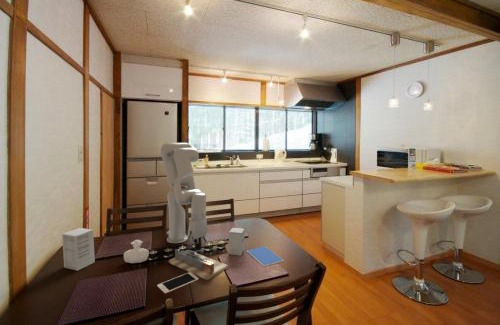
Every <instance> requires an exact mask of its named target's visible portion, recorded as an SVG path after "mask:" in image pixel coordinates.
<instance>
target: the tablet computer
mask: <svg viewBox="0 0 500 325" xmlns="http://www.w3.org/2000/svg"><path fill="white" fill-rule="evenodd" d="M246 253H247V254H248V255H249V256H251V257H252V258H253V259H255V261H257V263H259V264H260V265H261V266H262V267H268V266H272V265H276V264H280V263H284V262H285V261H284V259H283V258H281V257H280V256H279V255H277V254H276V253H274V252H273V251H272V250H270V248H268V247H267V246H260V247H256V248H251V249H247V250H246Z"/></svg>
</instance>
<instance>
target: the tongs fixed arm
mask: <svg viewBox="0 0 500 325" xmlns="http://www.w3.org/2000/svg"><path fill="white" fill-rule="evenodd" d="M174 253H175V254H174V255H175V256H174V258H175V259H176V260H178V261H180V262H183V263H185V264H187V265H190V266H192V267H194V268H197V269H199V270H201V271H204V272H206V273H208V274H212V264H210V263H208V262H204V261H202V260H199V259H197V258H194V257H192V256H189V255H187V254H184V253H182V252H181V249H180V248H175V249H174Z"/></svg>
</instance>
